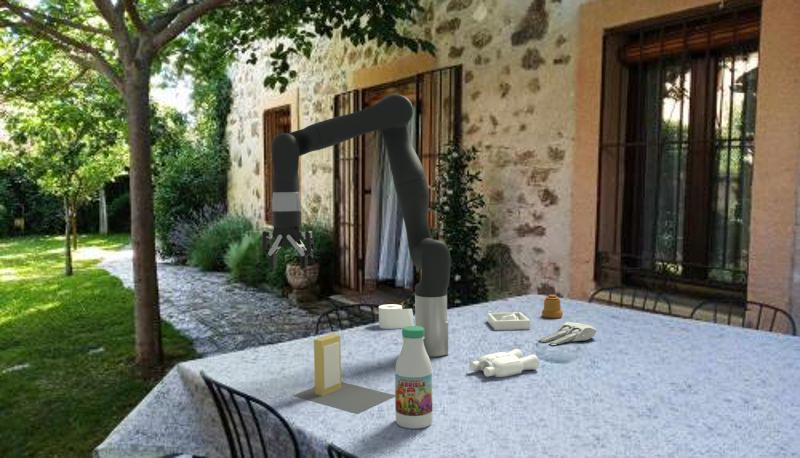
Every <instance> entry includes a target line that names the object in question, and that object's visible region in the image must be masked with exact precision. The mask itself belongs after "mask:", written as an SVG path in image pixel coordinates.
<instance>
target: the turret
mask: <svg viewBox="0 0 800 458" xmlns="http://www.w3.org/2000/svg"><path fill="white" fill-rule="evenodd" d="M597 331H598V330H597V329H596V328H595V327H594V326H592V325H591V324H586V323H584V324H583V323H577V322H572V321H566V322H564V323H563V324H562V325H561V326H560V328H559V329H557V331H556V332H554V333H553V334H550V335H547V336H544V337H542V338H539V339H538V340H537V341H538V342H539V343H541V342H542V343H541V344H544V343H543V342H546V343H550V344H559V345H561V344H564V343H574V342H580V341H588V340H589V339H591V338H593V337H595V335H596V333H597Z"/></svg>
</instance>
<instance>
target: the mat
mask: <svg viewBox="0 0 800 458" xmlns="http://www.w3.org/2000/svg"><path fill="white" fill-rule="evenodd" d="M292 396H293V397H296V398H300V399H302V400H307V401H308V402H309V401H310V402H313V403H317V404H320V405H325V406H327V407H331V408H334V409H339V410H342V411H345V412H348V413H353V414H356V415H358V414H362V413H363V412H366V411H367V410H369V409H372V408H374V407H376V406H378V405H380V404H383V403H384V402H387V401H389V400H391V399H393V398H395V394H392V393H387V392H383V391H380V390H377V389H371V388H367V387H364V386H360V385H355V384H352V383H348V382H343V381H341V389H338V390H336V391H333V392H331V393H328V394H326V395H324V396H321V395H317V394H315V386H314V387H312V388H309V389H307V390H304V391H302V392H299V393H296V394H293V395H292Z"/></svg>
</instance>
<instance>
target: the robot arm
mask: <svg viewBox="0 0 800 458" xmlns="http://www.w3.org/2000/svg"><path fill="white" fill-rule="evenodd" d="M413 115H414V107H413V104H412V102H411V101H410V100H409V99H408V98H407V97H406V96H404V95H402V94H399V93H394V94H389V95H386V96H383V97H382V98H381V99H379V100H378V102H377V103H375V104H373V105H371V106H368V107H366V108H363V109H361V110H358V111H356V112H355V111H354V112H352V113H347V114H343V115H340V116H339V115H338V116H335V117H331V118H329V119H326V120H322V121H319V122H315V123H311V124H310V125H307V126H305V127H304V128H301V129H298V130H295V131H291V132H289V133H288V132H287V133H286V132H283V133H280V134H278V135H276V136H275V137H274V138H273V140H272V141H271V145H270V151H271V155H272V169H273V172H272V202H271V205H272V207H271V208H272V227H273V231H271V230H263V231H262V238H261V239H262V241H261V249H262V250H261V252H262V253H263V254H266V255H268V258H269V267H270V268H271V270H276V269H277V268H278V255H277V253H278V252H279V250H280V249H281V248H287V247H288V248H294V249H295V250H296V251H297V253H299V255H300V256H299V265H300V266H299V267H300V268H299V270H300V271H305V270H307V268H308V266H309V263H308V262H309V261H308V259H309V257H308V256H309V255H312V254H313V253H315V241H314V233H313V231H312V230H307V231H303V230H302V229H303V228H302V226H303V225H302V202H301V200H302V199H301V193H300V192H301V191H300V177H299V176H300V175H299V163H300V156H301V157H302V156H304V155H306V154H308V153H311V152H316V151H320V150H323V149H326V148H330V147H332V146H336V145H339V144H341V143H344V142H346V141H350V140H351V139H353V138H357V137H359V136H362V135H365V134H368V133H369V134H370V133H371V132H372V133H373V132H375V131H380V134H381V135H382V138H383V140H384V143H385V144H384V145H385V147H386V151H387V157H388V161H389V167H390V172H391V176H392V181H393V184H394V187H395V188H394V189H395V192H396V197H397V200H398V203H399V207H400V211H401V214H402V215H401V216H402V218H403V221H404V226H405V231H406V237H407V243H408V252H409V256H410V260H411V262H412V264H413V265H414V266H415V267H416V268H417V269H420V270H421V276H420V277H421V279H420V281H419V282H418V283H416V284H415V287H414V301H415V302H414V305H415V307H414V309H415V310H414V312H415V313H414V314H415V316H414V318H415V320H414V321H415V325H414V326H420V327H423V328H424V339H423V343H424V347H425V350H426V352H427V354H428V356H429V358H430V357H432V358H433V357H434V358H435V357H441V356H446V355H447V356H448V355H449V321H448V288H449V286H450V279H451V254H450V253H451V252H450V249H449V247H448V245H447V244H446V243H445V242H444V241H441V240H438V239H434V238H433V236H432V233H431V228H430V226H429V220H428V213H429V212H428V211H429V205H430V189H429V185H428V179H427V176H426V172H425V170H424V167H423V165H422V161H421V160H420V157H419V156H418V154H417V153H416V150H415V149H414V146H413V144H412V142H411V141H412V140H411V137H410V134H409V129H408V128H409V127H408V123H409V122H410V121H411V120H412V117H413ZM302 238H303V239H304V240H305V244H304V243H303V241H302V240H301V239H302ZM272 239H274V240H275V241H274V242H273V244H272V245H271V242H272V241H271V240H272Z"/></svg>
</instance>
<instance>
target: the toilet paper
mask: <svg viewBox="0 0 800 458" xmlns="http://www.w3.org/2000/svg"><path fill="white" fill-rule="evenodd" d="M413 312H414V311H413V308H403V305H401V304H396V303H395V304H393V303H391V304H381V305H379V306H378V327H379V328H380V329H385V330H391V329H392V330H395V329H403V328H404V327H407V326H414V315H413Z"/></svg>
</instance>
